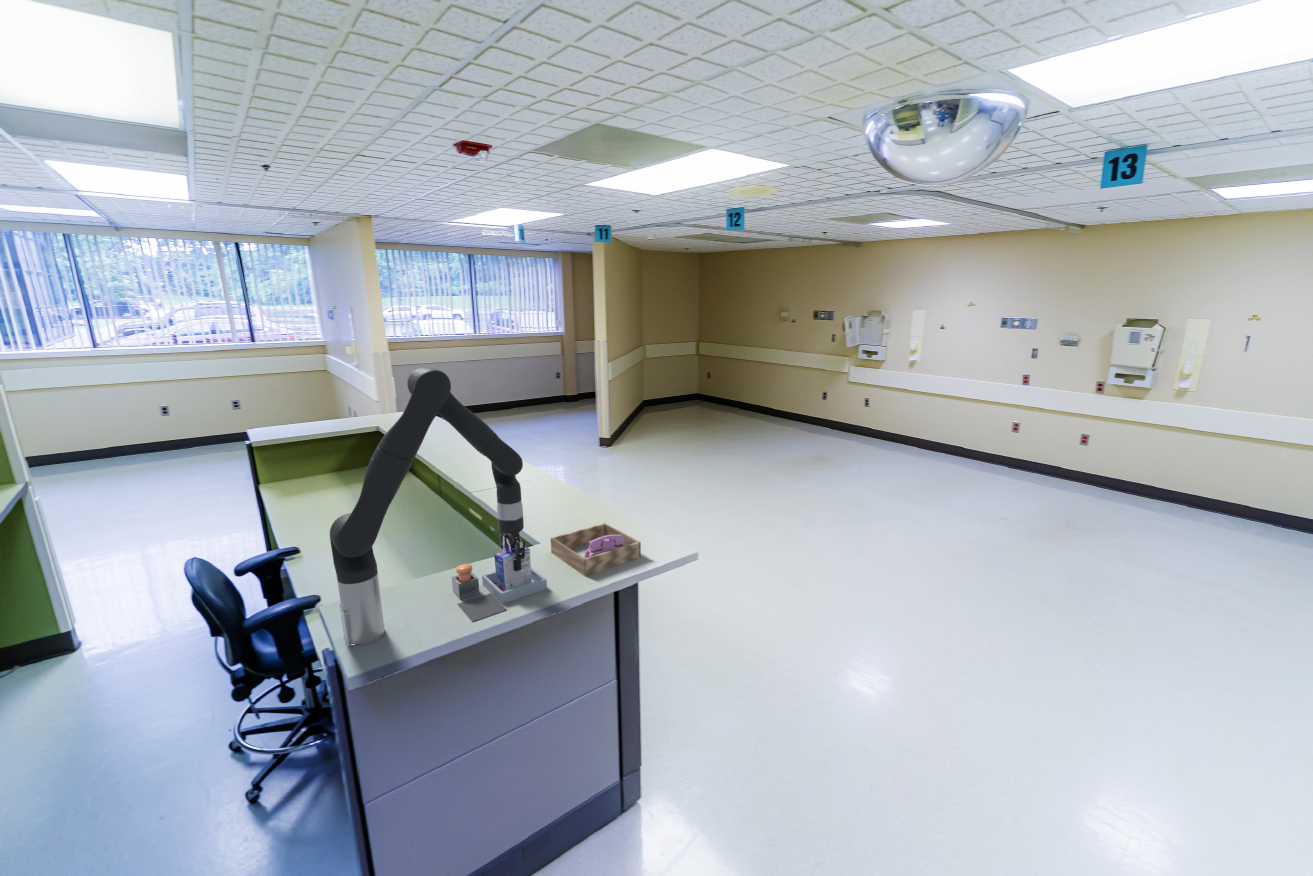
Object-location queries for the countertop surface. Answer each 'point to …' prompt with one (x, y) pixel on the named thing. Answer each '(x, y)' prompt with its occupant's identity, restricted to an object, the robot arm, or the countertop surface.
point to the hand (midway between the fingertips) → (513, 566)
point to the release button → (464, 572)
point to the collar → (515, 592)
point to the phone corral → (596, 562)
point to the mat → (482, 607)
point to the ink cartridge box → (512, 570)
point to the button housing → (465, 586)
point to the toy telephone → (604, 544)
